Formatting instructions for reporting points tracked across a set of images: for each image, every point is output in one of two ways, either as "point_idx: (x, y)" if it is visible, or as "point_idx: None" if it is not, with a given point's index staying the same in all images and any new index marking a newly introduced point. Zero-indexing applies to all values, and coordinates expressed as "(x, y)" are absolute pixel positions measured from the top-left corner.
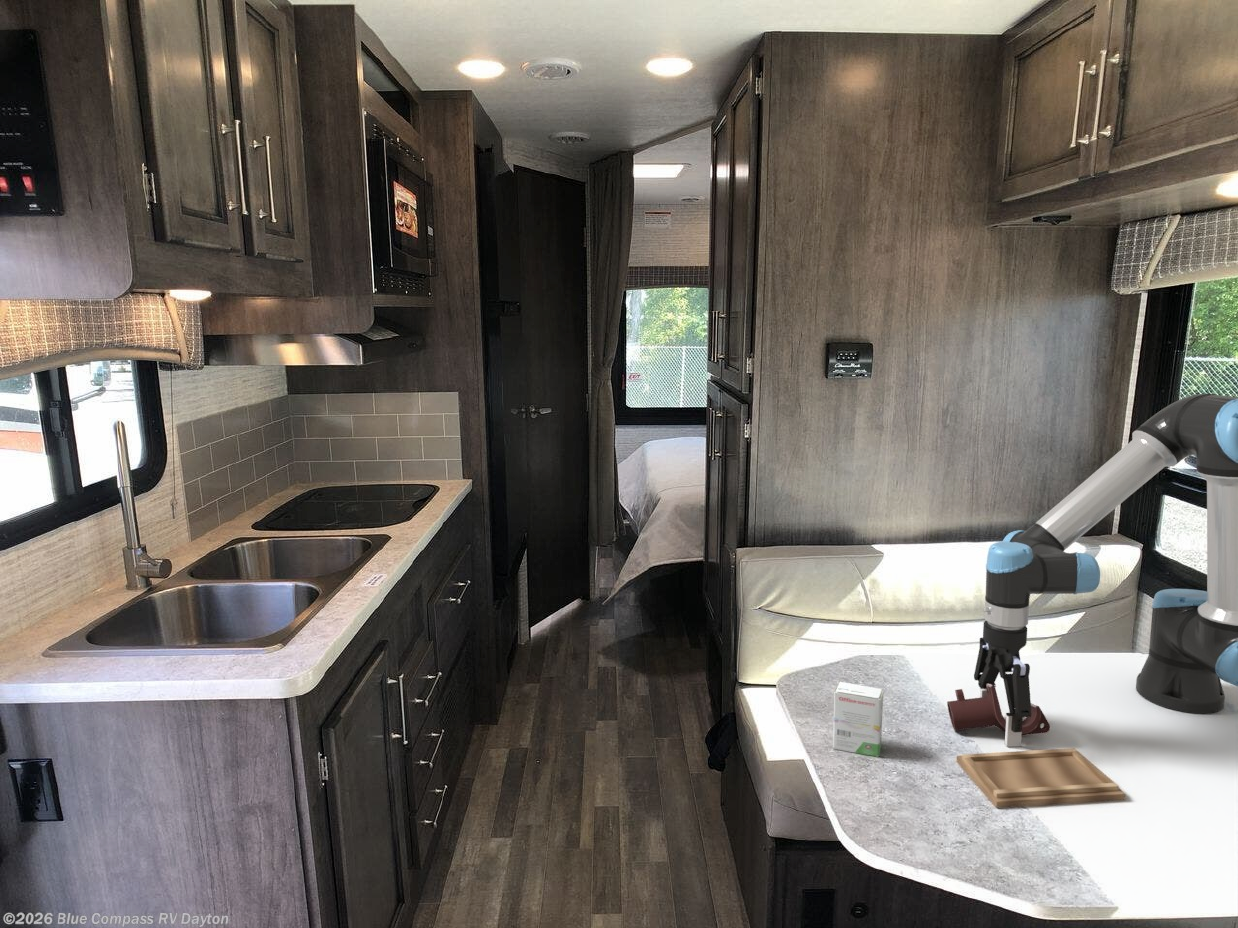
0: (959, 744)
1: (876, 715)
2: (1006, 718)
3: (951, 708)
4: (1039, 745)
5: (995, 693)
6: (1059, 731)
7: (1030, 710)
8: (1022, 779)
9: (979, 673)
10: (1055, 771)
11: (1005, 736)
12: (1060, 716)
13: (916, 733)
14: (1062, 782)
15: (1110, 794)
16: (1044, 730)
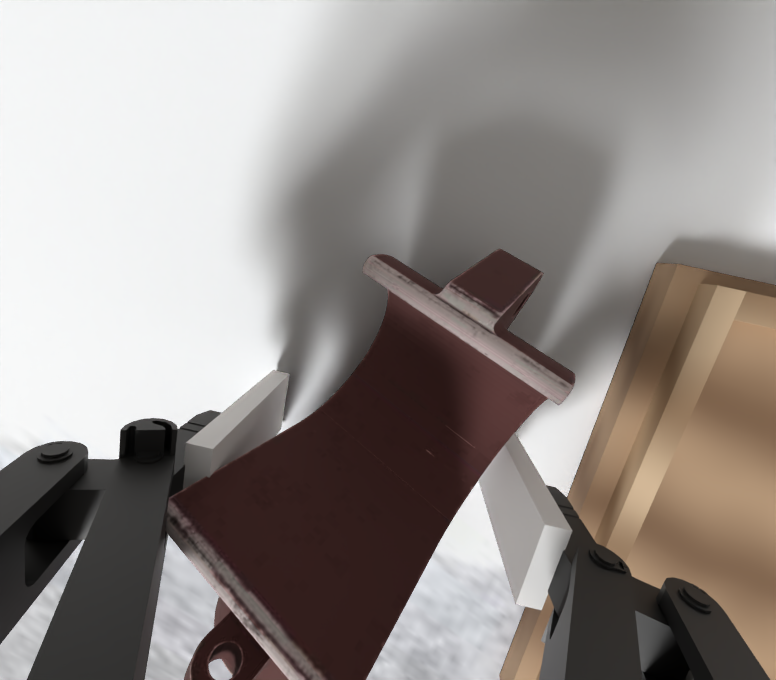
0: (408, 601)
1: None
2: (507, 570)
3: None
4: (530, 340)
5: (377, 654)
6: (468, 149)
7: (741, 645)
8: (734, 622)
9: (42, 580)
10: (764, 480)
11: (485, 496)
12: (343, 7)
13: None
14: None
15: None
16: (525, 301)
